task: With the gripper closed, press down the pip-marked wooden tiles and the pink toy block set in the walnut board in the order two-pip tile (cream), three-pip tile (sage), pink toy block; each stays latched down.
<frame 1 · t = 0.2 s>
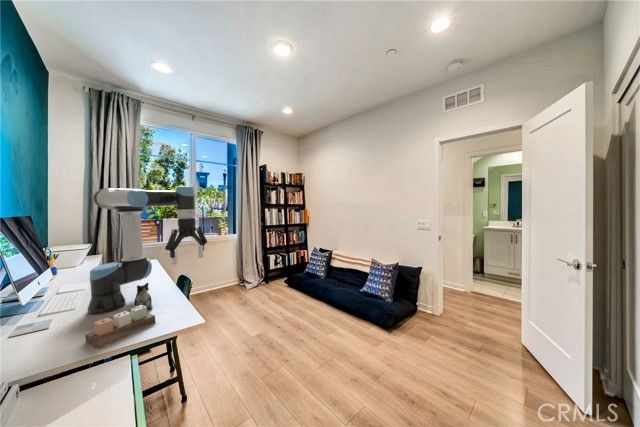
hand: (188, 260, 115), 28 cm above the table, fingers open, 13 cm apart
tile two: (122, 319, 102), point 6 cm above the table, slide at 0.0 cm
tile three: (138, 312, 108), point 6 cm above the table, slide at 0.0 cm
figurine: (140, 311, 121), on the table
pink toy block: (103, 326, 96), point 6 cm above the table, slide at 0.0 cm
board: (123, 331, 102), on the table
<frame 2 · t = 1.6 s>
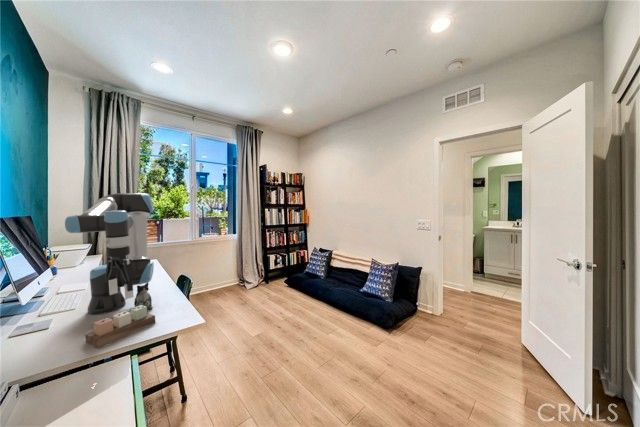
hand: (121, 295, 101), 16 cm above the table, fingers open, 11 cm apart
nothing on the table moved.
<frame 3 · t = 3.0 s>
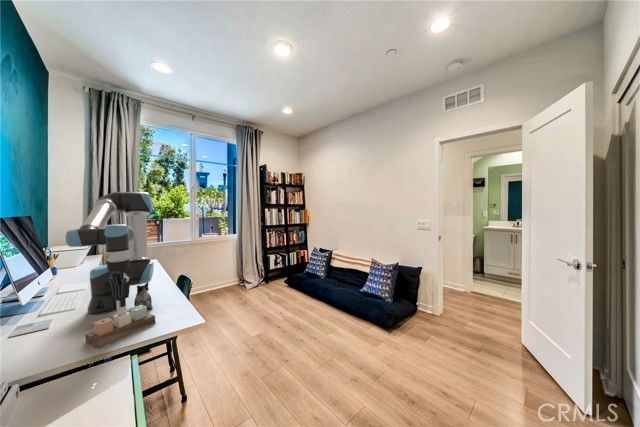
hand: (121, 313, 102), 8 cm above the table, fingers closed
tile two: (122, 319, 102), point 6 cm above the table, slide at 0.1 cm, touching gripper
everything else where it was.
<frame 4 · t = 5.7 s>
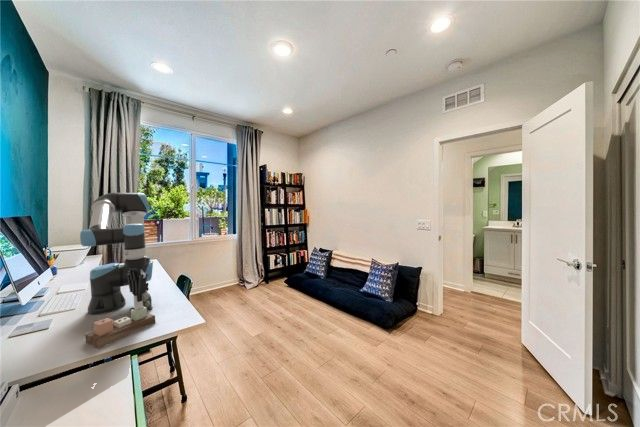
hand: (138, 307, 108), 8 cm above the table, fingers closed
tile two: (122, 325, 102), point 3 cm above the table, slide at 2.6 cm
tile three: (139, 313, 108), point 5 cm above the table, slide at 0.5 cm, touching gripper
everything else where it was.
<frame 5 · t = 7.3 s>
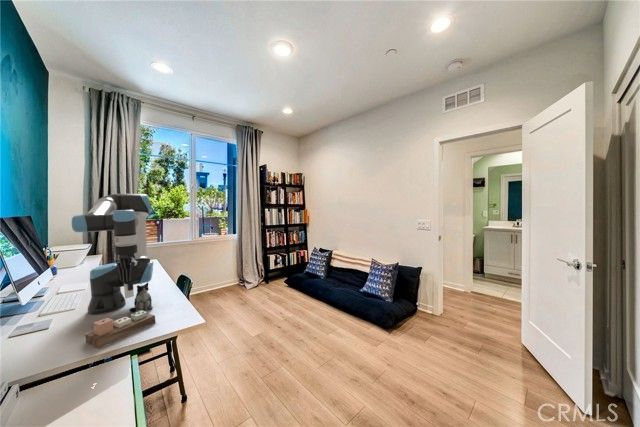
hand: (129, 296, 104), 15 cm above the table, fingers closed
tile three: (139, 318, 108), point 3 cm above the table, slide at 2.6 cm
everything else where it was.
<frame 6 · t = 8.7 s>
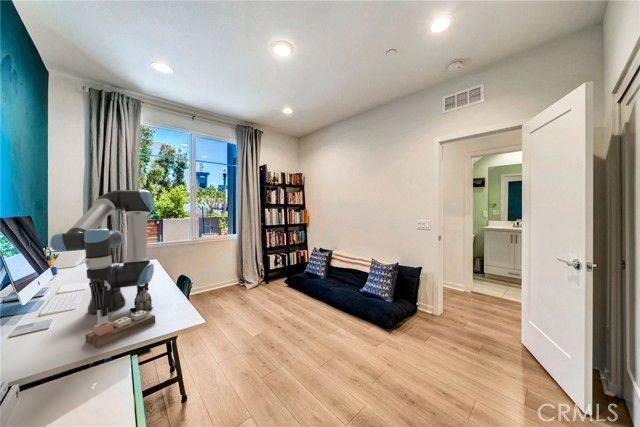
hand: (103, 323, 96), 7 cm above the table, fingers closed
pink toy block: (103, 329, 96), point 4 cm above the table, slide at 1.2 cm, touching gripper
everything else where it was.
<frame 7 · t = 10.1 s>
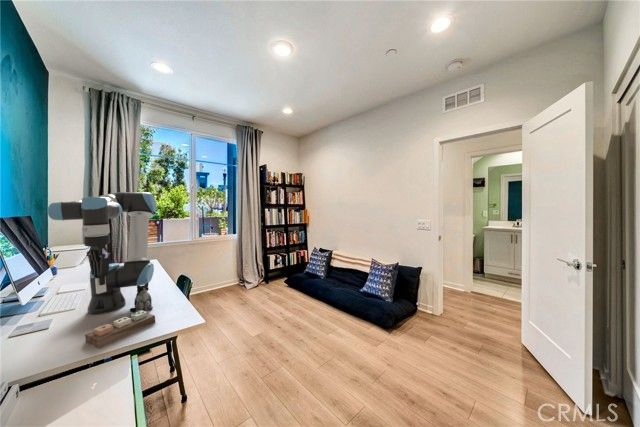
hand: (101, 292, 95), 20 cm above the table, fingers closed
pink toy block: (104, 333, 96), point 3 cm above the table, slide at 2.6 cm
everything else where it was.
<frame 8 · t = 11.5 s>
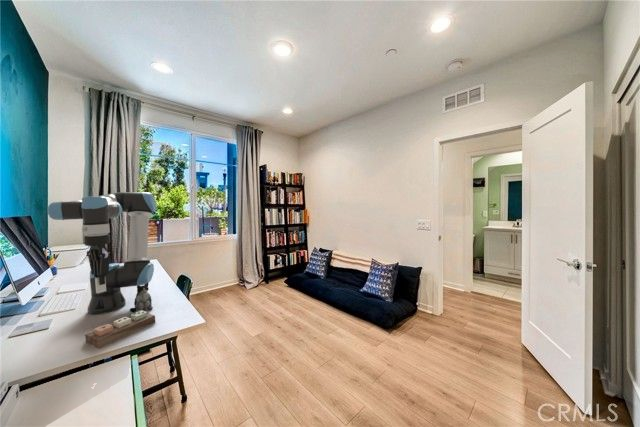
hand: (101, 291, 95), 20 cm above the table, fingers closed
nothing on the table moved.
at the end: tile two slide at 2.6 cm; tile three slide at 2.6 cm; pink toy block slide at 2.6 cm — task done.
